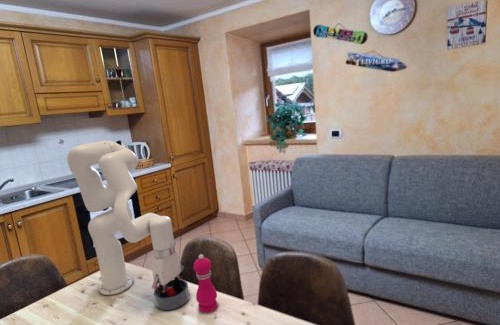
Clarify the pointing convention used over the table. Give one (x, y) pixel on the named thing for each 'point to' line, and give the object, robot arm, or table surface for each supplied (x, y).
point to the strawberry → (170, 291)
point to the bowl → (174, 300)
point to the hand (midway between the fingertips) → (171, 294)
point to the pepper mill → (205, 285)
